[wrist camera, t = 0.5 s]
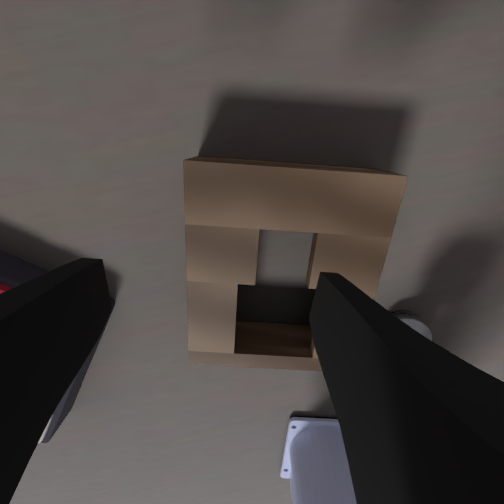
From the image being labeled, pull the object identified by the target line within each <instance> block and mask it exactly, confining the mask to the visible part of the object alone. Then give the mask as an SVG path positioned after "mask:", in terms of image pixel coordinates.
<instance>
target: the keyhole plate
mask: <svg viewBox="0 0 504 504" xmlns="http://www.w3.org/2000/svg"><path fill="white" fill-rule="evenodd" d="M183 169H184V205H185V240H186V276H187V311H188V347H189V364H198V365H217V366H235V367H253V368H271V369H289V370H308V371H322V368H321V365H320V362H319V359H318V356H317V353H316V350H315V346H314V343H313V338H312V333H311V327H310V325H297V324H280V323H263V322H246V321H236V313H237V294H238V284H243V285H255V280H256V268H257V256H258V243H259V231H260V229H264V230H280V231H295V232H310V233H314V234H313V240H312V246H311V252H310V258H309V265H308V271H307V277H306V283H307V285H308V288H309V289H316V287H317V282H318V278H319V274H320V272H333V273H339V274H340V275H342V276H343V277H345V278H346V279H347V280H349V281H350V282H351V283H353V284H354V285H355V286H356V287H358V288H359V289H360V290H362V291H363V292H364V293H365V294H367V295H368V296H369V297H371V298H372V299H373V300H374V297H375V294H376V290H377V287H378V283H379V279H380V276H381V272H382V269H383V265H384V262H385V258H386V254H387V251H388V247H389V244H390V240H391V236H392V233H393V229H394V226H395V222H396V219H397V215H398V211H399V208H400V204H401V201H402V197H403V193H404V190H405V186H406V183H407V179H408V176H405V175H401V174H397V173H392V172H388V171H384V170H379V169H371V168H357V167H343V166H329V165H315V164H301V163H287V162H273V161H259V160H245V159H231V158H217V157H203V156H196V157H193V158H189V159H186V160H183Z"/></svg>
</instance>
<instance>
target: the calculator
mask: <svg viewBox="0 0 504 504" xmlns="http://www.w3.org/2000/svg"><path fill="white" fill-rule="evenodd" d="M48 272H49V271H47V270H44V269H42V268H40V267H37V266H35V265H33V264H30V263H28V262H26V261H23V260H21V259H19V258H16V257H14V256H12V255H9V254H7V253H4V252H2V251H0V294H1V293H3V292H5V291H8V290H10V289H12V288H14V287H17V286H19V285H21V284H23V283H25V282H28V281H30V280H32V279H34V278H36V277H39V276H41V275H43V274H45V273H48ZM110 300H111V305H112V310H113V308H114V305H115V302H114V300H113V299H112V298H110ZM112 310H111V313H112ZM111 313H110V315H111ZM110 315H109V318H110ZM109 318H108V320H109ZM108 320H107V322H108ZM107 322H106V325H107ZM106 325H105V327H106ZM105 327H104V329H105ZM104 329H103V331H102V333H101V336H100V337H99V339H98V341H97V342H96V344H95V346H94V347H93V349H92V351H91V352H90V354H89V356H88V357H87V359H86V360H85V362H84V364H83V365H82V367H81V369H80V370H79V372H78V373H77V375H76V377H75V378H74V380H73V381H72V383H71V385H70V386H69V388H68V389H67V391H66V393H65V394H64V396H63V397H62V399H61V401H60V402H59V404H58V406H57V408H56V409H55V411H54V413H53V415H52V416H51V418H50V420H49V422H48V424H47V426H46V428H45V430H44V432H43V434H42V436H41V438H40V440H39V442H38V443H40V442H42V443H47V442H49V440H50V439H51V438H52V436H53V435H54V433H55V432H56V430H57V429H58V428H59V426H60V425H61V423H62V422H63V420H64V419H65V417H66V416H67V415H68V413H69V412H70V410H71V408H72V406H73V404H74V401H75V399H76V397H77V394H78V392H79V389H80V387H81V383H82V380H83V378H84V376H85V374H86V371H87V369H88V367H89V364H90V362H91V360H92V357H93V355H94V353H95V350H96V348H97V346H98V344H99V341H100V339H101V337H102V334H103V332H104Z"/></svg>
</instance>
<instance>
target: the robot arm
mask: <svg viewBox="0 0 504 504" xmlns="http://www.w3.org/2000/svg"><path fill="white" fill-rule="evenodd" d="M111 310H112V305H111V300H110V295H109V290H108V285H107V280H106V275H105V270H104V265H103V260H102V259H90V258H82V259H79V260H76V261H73V262H70V263H68V264H66V265H63V266H61V267H59V268H56V269H54V270H52V271H50V272H48V273H45V274H43V275H41V276H39V277H36V278H34V279H32V280H30V281H28V282H25V283H23V284H21V285H19V286H17V287H14V288H12V289H10V290H8V291H5V292H3V293H1V294H0V504H9V503H10V501H11V499H12V496H13V494H14V492H15V490H16V488H17V486H18V484H19V481H20V479H21V477H22V475H23V473H24V471H25V469H26V466H27V464H28V462H29V460H30V458H31V456H32V454H33V452H34V450H35V448H36V446H37V444H38V442H39V440H40V438H41V436H42V434H43V432H44V430H45V428H46V426H47V424H48V422H49V420H50V418H51V416H52V415H53V413H54V411H55V409H56V408H57V406H58V404H59V402H60V401H61V399H62V397H63V396H64V394H65V393H66V391H67V389H68V388H69V386H70V385H71V383H72V381H73V380H74V378H75V377H76V375H77V373H78V372H79V370H80V369H81V367H82V365H83V364H84V362H85V360H86V359H87V357H88V356H89V354H90V352H91V351H92V349H93V347H94V346H95V344H96V342H97V341H98V339H99V337H100V336H101V333H102V331H103V329H104V327H105V325H106V322H107V320H108V318H109V315H110V313H111ZM309 321H310V327H311V333H312V338H313V343H314V346H315V350H316V353H317V356H318V359H319V362H320V365H321V368H322V371H323V374H324V377H325V380H326V383H327V386H328V389H329V392H330V395H331V398H332V401H333V404H334V408H335V411H336V414H337V418H338V419H325V418H305V417H292V418H290V420H289V424H288V430H287V436H286V441H285V447H284V453H283V459H282V464H281V470H280V476H281V477H282V478H290V488H291V497H292V504H504V382H502V381H500V380H499V379H497V378H495V377H493V376H491V375H489V374H487V373H485V372H484V371H482V370H480V369H478V368H476V367H474V366H473V365H471V364H469V363H467V362H466V361H464V360H462V359H460V358H459V357H457V356H455V355H454V354H452V353H450V352H449V351H447V350H446V349H444V348H442V347H441V346H439V345H437V344H436V343H434V342H432V341H431V340H429V339H428V338H426V337H425V336H423V335H422V334H420V333H419V332H417V331H416V330H414V329H413V328H411V327H410V326H409V325H407V324H406V323H404V322H403V321H401V320H400V319H398V318H397V317H396V316H394V315H393V314H392V313H390V312H389V311H388V310H386V309H385V308H384V307H382V306H381V305H380V304H378V303H377V302H376V301H374V300H373V299H372V298H371V297H369V296H368V295H367V294H365V293H364V292H363V291H362V290H360V289H359V288H358V287H356V286H355V285H354V284H353V283H351V282H350V281H349V280H347V279H346V278H345V277H343V276H342V275H340V274H339V273H333V272H320V274H319V278H318V282H317V287H316V291H315V295H314V299H313V303H312V307H311V311H310V315H309Z"/></svg>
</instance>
